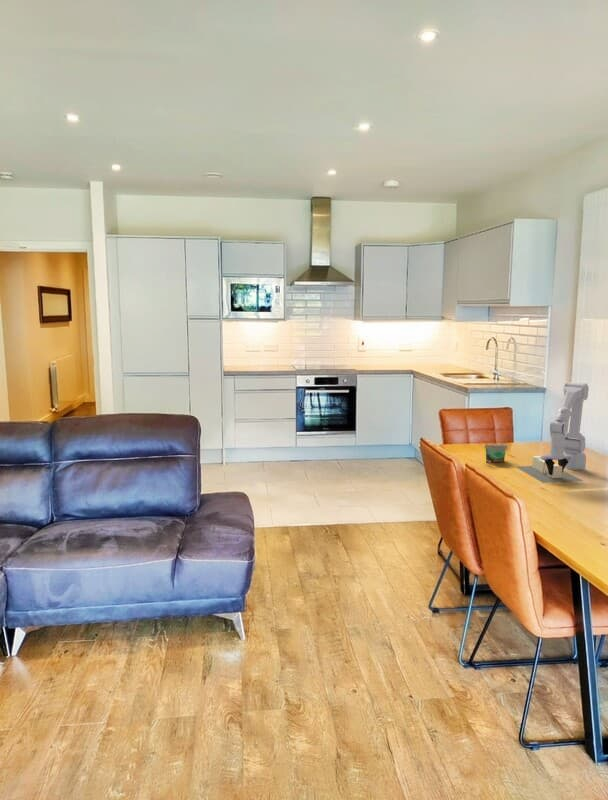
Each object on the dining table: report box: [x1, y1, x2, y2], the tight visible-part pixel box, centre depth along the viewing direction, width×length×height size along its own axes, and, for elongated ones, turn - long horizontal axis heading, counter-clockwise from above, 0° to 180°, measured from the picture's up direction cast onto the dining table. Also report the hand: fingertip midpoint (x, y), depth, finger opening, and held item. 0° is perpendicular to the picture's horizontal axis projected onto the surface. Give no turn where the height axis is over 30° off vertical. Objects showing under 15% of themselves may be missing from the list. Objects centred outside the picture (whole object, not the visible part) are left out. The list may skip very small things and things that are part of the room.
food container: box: [484, 442, 508, 465], centre depth 285 cm, size 12×6×10 cm, turn 105°
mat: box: [515, 465, 584, 484], centre depth 266 cm, size 20×26×1 cm
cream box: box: [531, 455, 548, 474], centre depth 271 cm, size 4×11×6 cm, turn 6°
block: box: [547, 463, 562, 478], centre depth 260 cm, size 4×5×5 cm
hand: (555, 474), depth 260 cm, fingers closed on block, 4 cm apart
